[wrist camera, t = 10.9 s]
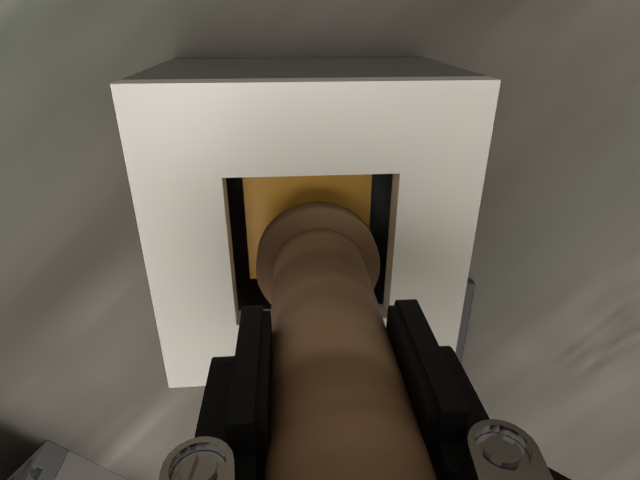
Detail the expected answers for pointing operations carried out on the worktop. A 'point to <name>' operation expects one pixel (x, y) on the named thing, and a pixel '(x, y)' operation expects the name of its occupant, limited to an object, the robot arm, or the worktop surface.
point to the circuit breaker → (60, 466)
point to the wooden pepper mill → (332, 355)
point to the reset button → (299, 200)
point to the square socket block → (299, 160)
